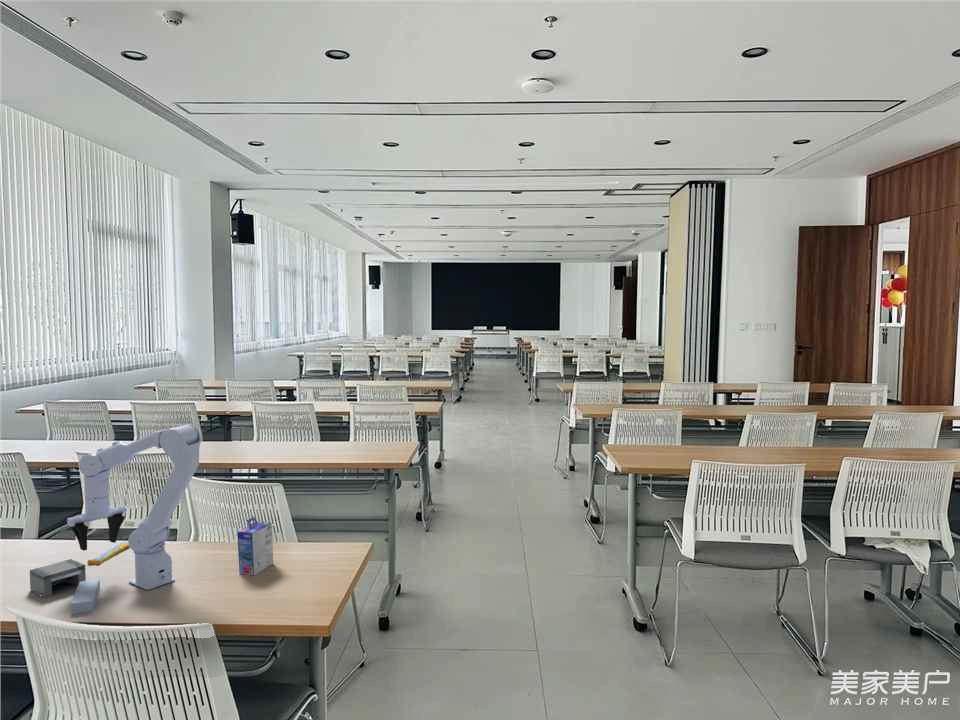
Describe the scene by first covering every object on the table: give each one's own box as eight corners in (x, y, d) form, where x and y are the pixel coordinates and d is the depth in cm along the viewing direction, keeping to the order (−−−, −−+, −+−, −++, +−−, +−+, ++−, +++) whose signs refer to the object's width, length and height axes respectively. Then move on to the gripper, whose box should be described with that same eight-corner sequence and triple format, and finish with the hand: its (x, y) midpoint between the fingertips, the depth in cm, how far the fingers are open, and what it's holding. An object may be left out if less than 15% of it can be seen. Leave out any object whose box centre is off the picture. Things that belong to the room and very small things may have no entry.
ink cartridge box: (257, 561, 192) (256, 513, 191) (274, 563, 191) (273, 514, 190) (237, 574, 182) (236, 523, 182) (254, 576, 181) (253, 524, 180)
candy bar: (98, 567, 189) (98, 560, 189) (85, 566, 189) (84, 560, 189) (133, 547, 206) (133, 541, 206) (120, 547, 206) (120, 541, 206)
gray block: (86, 585, 174) (86, 565, 174) (45, 598, 166) (44, 577, 166) (71, 578, 179) (70, 559, 179) (30, 590, 171) (29, 570, 170)
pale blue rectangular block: (92, 612, 159) (92, 600, 158) (70, 616, 157) (70, 603, 157) (100, 590, 172) (99, 579, 172) (80, 593, 170) (79, 581, 170)
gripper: (116, 489, 186) (117, 536, 186) (61, 500, 174) (62, 550, 174) (129, 492, 182) (130, 540, 182) (74, 504, 170) (75, 555, 170)
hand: (98, 545), depth 178 cm, fingers open, 7 cm apart
